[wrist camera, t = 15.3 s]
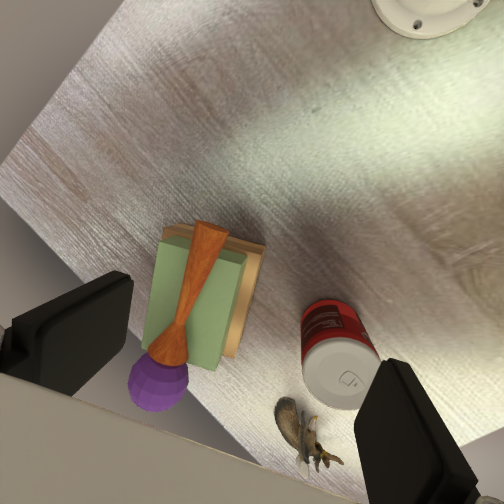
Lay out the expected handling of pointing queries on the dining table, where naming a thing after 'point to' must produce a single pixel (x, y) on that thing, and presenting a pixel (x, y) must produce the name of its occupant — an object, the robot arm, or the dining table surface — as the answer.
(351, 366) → the canned food
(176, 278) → the sage block
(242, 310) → the maple block
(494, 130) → the dining table surface
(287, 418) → the eagle figurine
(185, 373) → the purple wooden maraca
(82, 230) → the dining table surface
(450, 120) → the dining table surface
